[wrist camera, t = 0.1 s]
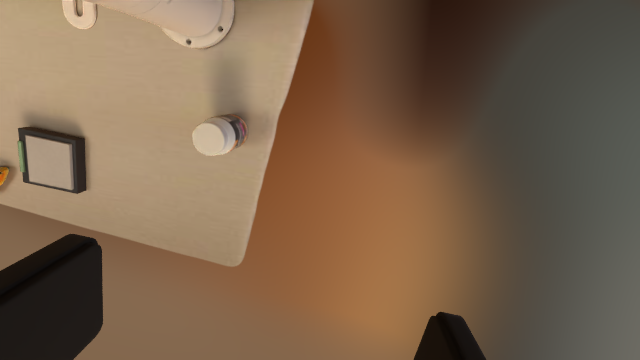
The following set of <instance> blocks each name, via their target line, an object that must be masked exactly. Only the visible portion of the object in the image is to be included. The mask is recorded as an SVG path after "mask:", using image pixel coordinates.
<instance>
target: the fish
mask: <svg viewBox="0 0 640 360" xmlns="http://www.w3.org/2000/svg"><path fill="white" fill-rule="evenodd" d="M8 172H9V168H8V167H0V185H1V184H3V183H4V181H5V179H6V177H7V175H8Z"/></svg>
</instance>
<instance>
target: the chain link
mask: <svg viewBox="0 0 640 360" xmlns="http://www.w3.org/2000/svg"><path fill="white" fill-rule="evenodd" d="M62 2H63V11H64V15H65V17H66V19H67V20H68V21H69V23H70V24H71V25H73V26H74V27H76V28H80V29H89V28H91V27H92V26H93V25H94V23H95V21H96V4H95V3H91V2H87V1H83V0H82V3H83V15H82V16H81V17H79V16H78V14H77V12H76V0H62Z"/></svg>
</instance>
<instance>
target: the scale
mask: <svg viewBox="0 0 640 360" xmlns="http://www.w3.org/2000/svg"><path fill="white" fill-rule="evenodd" d="M18 132H19V141H18V151H19V161H20V171H21V172H23V182H25V183H30V184H34V185H39V186H44V187H48V188H53V189H58V190H63V191H67V192H72V193H77V194H78V193H80V192H83V191H85V190H86V171H85V139H84V138H80V137H75V136H70V135H66V134H61V133H56V132H52V131H47V130H42V129H38V128H33V127H23V128H18Z"/></svg>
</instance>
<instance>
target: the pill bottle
mask: <svg viewBox="0 0 640 360" xmlns="http://www.w3.org/2000/svg"><path fill="white" fill-rule="evenodd" d="M247 135H248V130H247V126H246V124H245V122H244V121H243V120H242V119H241V118H240V117H238V116H236V115H231V114H229V115H222V116H218V117H212V118H209V119H207V120H205V121H204V122H203V123H202V124H200V125H198V126H197V127H196V128H195V129H194V131H193V135H192V140H193V144H194V146H195V148H196V149H197V150H198V151H199V152H200V153H202V154H204V155H208V156H213V155H223V154H226V153H228V152H229V151H231V150H233V149H235V148H237V147H239V146H241V145H242V144H243V143H244V142H245V141H246V139H247Z"/></svg>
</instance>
